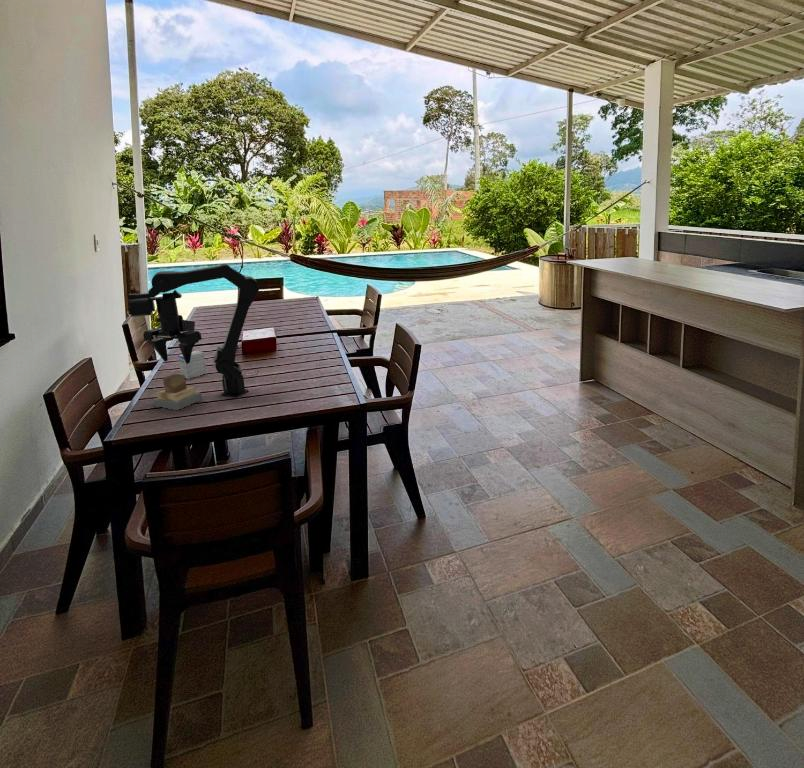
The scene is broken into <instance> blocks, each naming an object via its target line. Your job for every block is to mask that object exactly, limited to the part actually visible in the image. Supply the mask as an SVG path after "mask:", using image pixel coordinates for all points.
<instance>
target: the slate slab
mask: <svg viewBox="0 0 804 768" xmlns="http://www.w3.org/2000/svg"><path fill="white" fill-rule="evenodd" d="M201 394H202V393H201V392H198V391H196V394H193V395H191V396H189V397H186V398H184V399H182V400H179V401H177V402H176V401H170V400H163V399H158V397H155V398H153V399H152V400H153V406H157V407H156V408H159V407H163V408H162V409H165V408H168V409H167V410H171V409H173V410H172V411H176V410H178V411H180V410H179V409H181V410H183V409H185V408H187V407H189V406H192V405H193V403H194V404H196V403H198V402H200V400H201V401H202V399H203V398H202V395H201ZM197 401H198V402H197ZM195 402H196V403H195ZM191 404H192V405H191ZM186 406H187V407H186ZM184 407H185V408H184ZM182 408H183V409H182Z"/></svg>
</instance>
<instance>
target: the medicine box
mask: <svg viewBox="0 0 804 768" xmlns="http://www.w3.org/2000/svg"><path fill="white" fill-rule="evenodd" d="M177 357H178V363H179V369H180V370H179V371H180V375H184V376H185V378H186V379H185V380H187V379H188V380H191V379H190V378H192V379H194V378H193V377H195V378H198V377H201V376H200V375H202V376H204V375H203V374H205V375H207V367H206V360H205V353H204V352H203V351H200V350H194V351H193V350H192V354H191V359H190V363H188V364H186V362H185V360H184V357H183V355H182V354H178V355H177ZM197 376H198V377H197Z"/></svg>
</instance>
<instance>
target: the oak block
mask: <svg viewBox="0 0 804 768" xmlns="http://www.w3.org/2000/svg"><path fill="white" fill-rule="evenodd" d="M186 387H187V389H185V390H182V391H180V392H177V393H172V392H165V389H163V390H159V391H157V392H156V395H157V397H158V399H163V400H170V401H176V402H177V401H179V400H182V399H184V398H186V397H189V396H191V395H193V394H196V392H197V391H196V387H193V386H187V385H186ZM157 397H156V398H157Z"/></svg>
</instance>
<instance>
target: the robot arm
mask: <svg viewBox="0 0 804 768" xmlns="http://www.w3.org/2000/svg"><path fill="white" fill-rule="evenodd" d="M219 279H225V280H226V281H228V282H230V283H231V284H232V285H234V286H236V287H237V288H238V289H237V290H238V291H237V300H236V301H237V302H236V306H235V309H234V312H233V316H232V318H231V321H230V324H229V327H228V330H227V331H228V332H227V334H226V337H225V340H224V342H223V344H222V346H216V352H215V354H214V356H213V362H214V365H215V369H216V371H217V372H218V373H219V374H221V378H222V379H221V382H222V389H223V391H222V392H221V393H220V394H221V396H227V397H234V398H238V397H239V396H242V395H244V394H247V392H249V391H250V390H249V389H248V388H247V389H246V387H245V379H244V374H243V373H242V369H241V365H240V364H239V363H238V362H237V361H236V353H237V352H236V350H237V346H238V344H239V340H240V337H241V334H242V330H243V327H244V324H245V321H246V318H247V316H248V315H247V314H248V311H249V309H250V308H251V305H252V303H253V302H254V300H255V299H256V297H257V295H258V293H259V290H260V285H259V282H258V281H257V280H256V279H255V278H254V277H252V276H250V275H249V276H248V275H244V274H242V273H241V272H239V271H238V270H236V269H234V268H232V267H231V265H229V264H228V263H222V264H218V265H215V266H210V267H209V266H208V267H203V268H197V269H192V270H185V271H175V270H169V271H165V270H164V271H163V270H161V271H157V272H156V273H155V274H154V275H153V276H152V277H151V281H150V282H151V288H150V289H148V290H147V292H146V293H129V294H128V295H127V297H128V310H129V313H130V317H132V318H136V317H145V316H147V317H149V316H152V315H153V312H156V311H157V315H158V316H157V317H156V318H155V322H157V323H158V322H159V326H160V327H154V328H151V329H147V330H145V331H144V332H143V334H142V336H143V340H144V341H146V342H147V344H149V345H151V347H153V349H154V350H155V352H156V353H157V354H158V355H159V356H160V358H161V359H162V360H163V362H168V361H169V359H168V358H169V357H168V349H167V342H168V341H169V339H170V340H171V339H174V340H177V341H178V342H179V344H178V347H179V349H180V353H181V355H183V357H184V360H185V362H186V364H188V363H190V359H191V354H192V352H193V349H194V347H195V345H196V344H197V343H199V342H200V341H201V340H203V339H202V338H203V337H202V334H201V332H200V331H199V330H195V327H196V321H192V320H186V319H184V318H183V315H182V314H179V311H178V305H177V299H181V298H182V296H183V295H182V293H180V292H179V291H177V290H176V289H178V288H180V287H183V286H186V285H189V284H190V285H191V284H196V283H201V282H207V281H213V280H219ZM171 291H172V292H171ZM160 294H162V295H161V296H158V295H160ZM155 304H156V305H155Z"/></svg>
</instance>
